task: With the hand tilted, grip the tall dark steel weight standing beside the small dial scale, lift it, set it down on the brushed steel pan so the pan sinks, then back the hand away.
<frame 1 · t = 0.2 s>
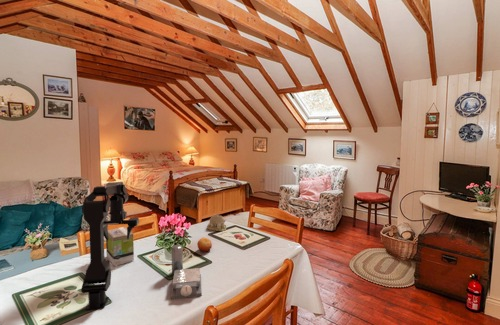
hand: (118, 239, 129), 15 cm above the table, tool pointing down, fingers open, 9 cm apart
tea box: (120, 259, 141), on the table
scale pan: (186, 277, 116), point 3 cm above the table, slide at 0.4 cm
steel weight: (177, 272, 127), on the table
scale: (186, 287, 115), on the table
fruit: (204, 250, 152), on the table
ceramic model: (217, 228, 189), on the table
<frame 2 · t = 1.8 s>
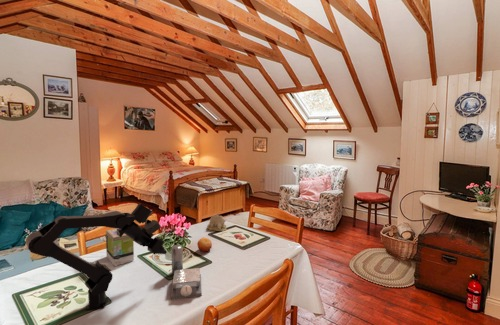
hand: (160, 249, 120), 13 cm above the table, tool tilted 45°, fingers open, 9 cm apart
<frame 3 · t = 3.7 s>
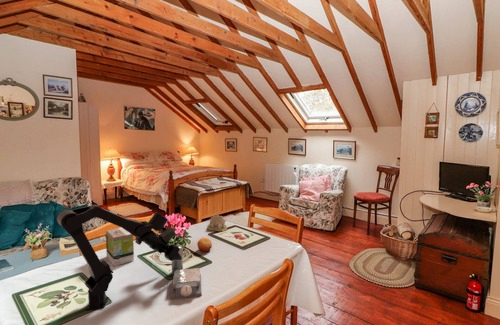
hand: (175, 255, 126), 8 cm above the table, tool tilted 45°, fingers open, 9 cm apart
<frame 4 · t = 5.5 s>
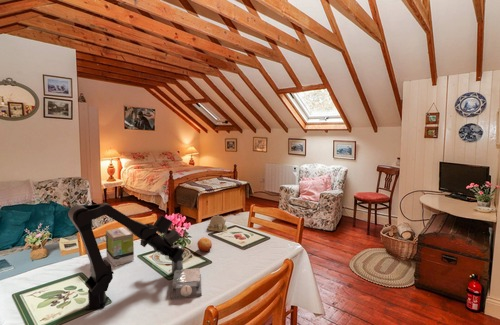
hand: (179, 258, 128), 7 cm above the table, tool tilted 45°, fingers closed on steel weight, 5 cm apart
steel weight: (177, 272, 127), on the table, touching gripper
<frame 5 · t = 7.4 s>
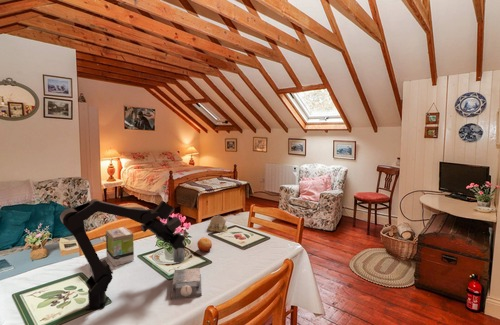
hand: (181, 245, 125), 13 cm above the table, tool tilted 45°, fingers closed on steel weight, 5 cm apart
steel weight: (179, 260, 125), point 7 cm above the table, touching gripper
when the fingers open (13 cm above the table, at t = 9.7 s): steel weight drops 2 cm, resting on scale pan.
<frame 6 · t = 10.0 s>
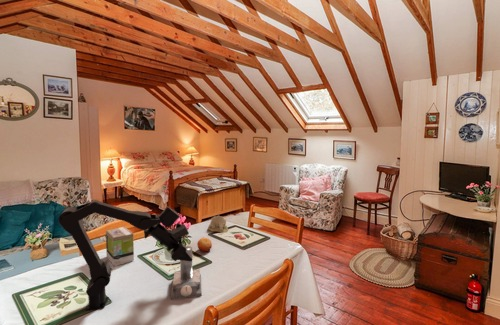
hand: (189, 256, 116), 13 cm above the table, tool tilted 45°, fingers open, 8 cm apart
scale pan: (186, 279, 116), point 3 cm above the table, slide at 1.0 cm, touching steel weight
steel weight: (186, 276, 116), point 4 cm above the table, touching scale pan
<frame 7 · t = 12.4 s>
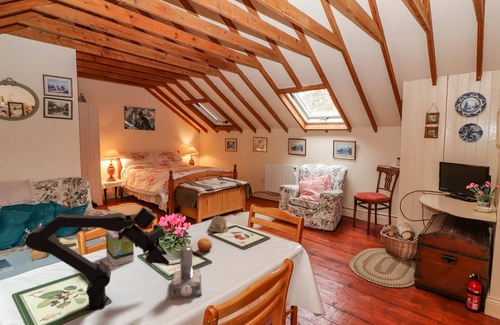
hand: (167, 258, 112), 13 cm above the table, tool tilted 45°, fingers open, 9 cm apart
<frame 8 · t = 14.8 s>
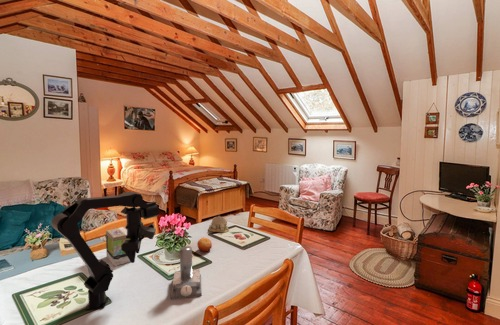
hand: (135, 257, 114), 13 cm above the table, tool pointing down, fingers open, 9 cm apart
at the end: steel weight inside the target area on the scale (0.1 cm from its centre), point 4.0 cm above the scale's base; steel weight tilted 1°; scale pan slide at 1.0 cm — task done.
